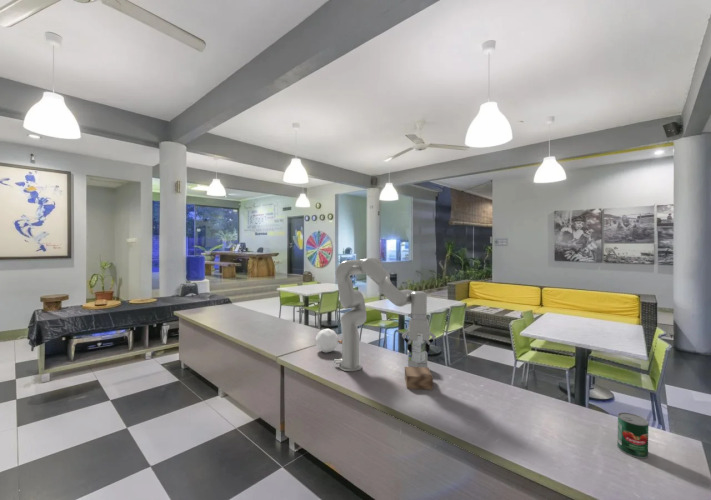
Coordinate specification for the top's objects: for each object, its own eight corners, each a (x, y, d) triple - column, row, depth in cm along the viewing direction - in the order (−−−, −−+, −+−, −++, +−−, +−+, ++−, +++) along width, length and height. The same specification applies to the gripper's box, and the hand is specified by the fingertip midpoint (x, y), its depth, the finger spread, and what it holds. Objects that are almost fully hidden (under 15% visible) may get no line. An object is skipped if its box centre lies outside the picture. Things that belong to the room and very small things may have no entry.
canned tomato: (633, 443, 112) (633, 412, 112) (655, 458, 104) (655, 424, 104) (611, 443, 112) (611, 412, 112) (631, 458, 104) (632, 425, 104)
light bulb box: (426, 367, 180) (426, 348, 180) (427, 372, 174) (427, 352, 173) (407, 366, 181) (407, 347, 181) (407, 371, 175) (407, 351, 174)
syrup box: (415, 357, 163) (416, 329, 163) (426, 360, 159) (426, 331, 159) (410, 360, 159) (410, 331, 158) (421, 363, 155) (421, 333, 155)
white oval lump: (314, 351, 196) (346, 354, 198) (317, 326, 200) (348, 329, 203) (313, 351, 209) (343, 354, 212) (316, 327, 214) (345, 330, 217)
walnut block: (407, 388, 153) (407, 376, 153) (404, 378, 165) (404, 366, 165) (432, 389, 153) (432, 377, 153) (428, 379, 165) (428, 367, 165)
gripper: (401, 317, 155) (401, 353, 156) (438, 318, 154) (437, 354, 155) (400, 314, 163) (400, 348, 163) (435, 315, 162) (434, 349, 162)
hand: (418, 351), depth 159 cm, fingers closed on syrup box, 8 cm apart
